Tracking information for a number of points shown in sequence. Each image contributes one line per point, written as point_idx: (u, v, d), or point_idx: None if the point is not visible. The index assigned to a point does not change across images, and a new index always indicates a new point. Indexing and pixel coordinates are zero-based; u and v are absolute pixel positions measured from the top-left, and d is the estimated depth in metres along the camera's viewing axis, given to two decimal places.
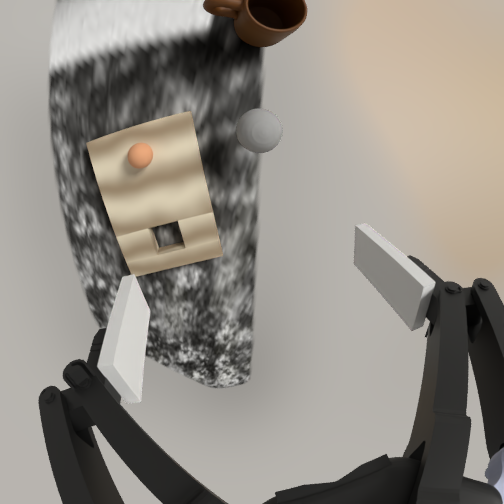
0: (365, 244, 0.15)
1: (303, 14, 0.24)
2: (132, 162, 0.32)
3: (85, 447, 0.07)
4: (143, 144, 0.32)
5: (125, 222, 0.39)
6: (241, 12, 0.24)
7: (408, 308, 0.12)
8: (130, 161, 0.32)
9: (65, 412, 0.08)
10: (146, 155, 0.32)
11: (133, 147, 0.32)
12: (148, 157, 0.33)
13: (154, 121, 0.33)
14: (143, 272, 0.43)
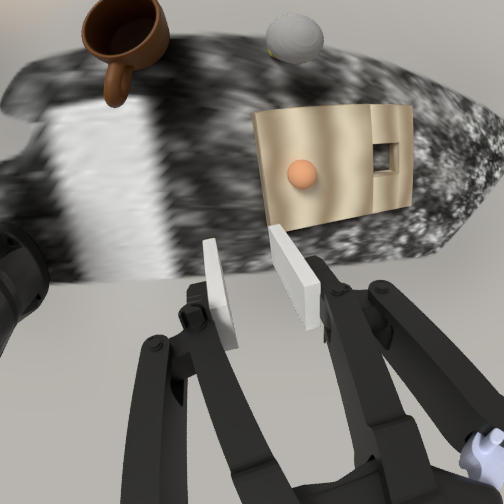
0: (274, 244, 0.17)
1: None
2: (310, 184, 0.31)
3: (174, 405, 0.09)
4: (291, 169, 0.30)
5: (362, 200, 0.36)
6: (128, 60, 0.20)
7: (300, 308, 0.13)
8: (308, 186, 0.31)
9: (168, 366, 0.10)
10: (306, 167, 0.30)
11: (293, 181, 0.31)
12: (308, 165, 0.30)
13: (262, 154, 0.31)
14: (410, 192, 0.37)
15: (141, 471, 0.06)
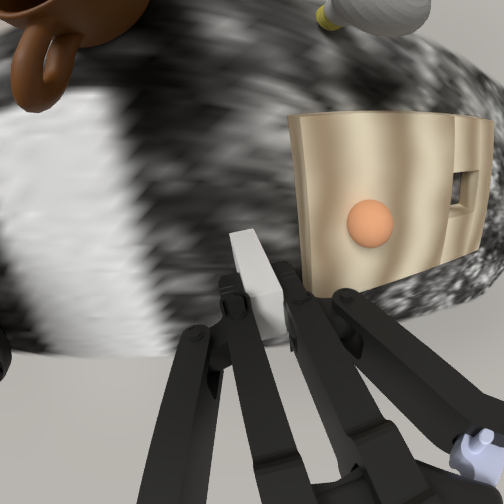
0: None
1: None
2: (384, 242, 0.18)
3: (208, 398, 0.09)
4: (358, 218, 0.18)
5: (431, 249, 0.24)
6: (61, 19, 0.07)
7: None
8: None
9: (207, 357, 0.10)
10: (382, 215, 0.17)
11: (360, 238, 0.18)
12: (384, 212, 0.17)
13: (309, 189, 0.19)
14: (480, 234, 0.25)
15: (166, 462, 0.06)
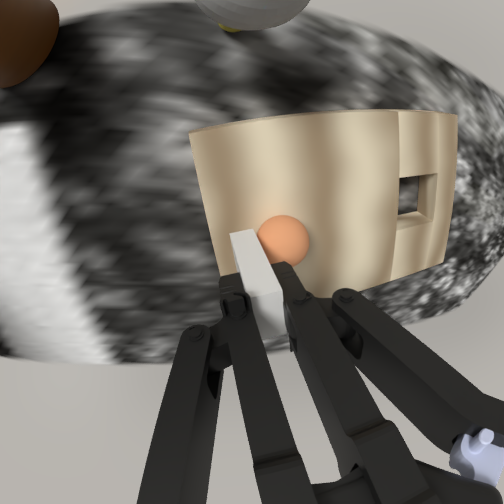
0: None
1: None
2: (299, 262, 0.18)
3: (208, 398, 0.09)
4: (264, 238, 0.17)
5: (376, 265, 0.23)
6: None
7: None
8: (295, 265, 0.18)
9: (207, 357, 0.10)
10: (291, 234, 0.17)
11: (268, 260, 0.17)
12: (294, 229, 0.17)
13: (207, 208, 0.18)
14: (444, 245, 0.24)
15: (166, 462, 0.06)
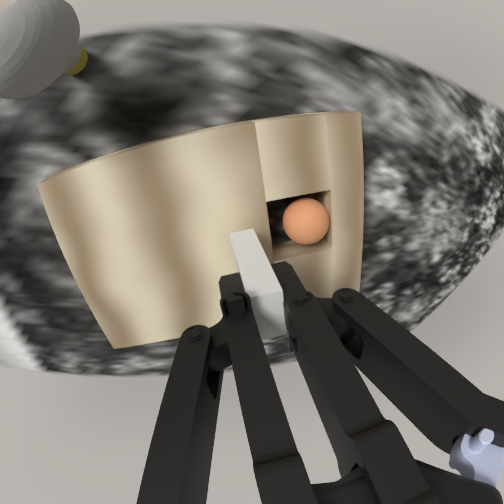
0: None
1: None
2: None
3: (208, 398, 0.09)
4: (324, 207, 0.20)
5: None
6: None
7: None
8: None
9: (207, 357, 0.10)
10: None
11: None
12: None
13: (62, 247, 0.17)
14: (357, 273, 0.23)
15: (166, 462, 0.06)
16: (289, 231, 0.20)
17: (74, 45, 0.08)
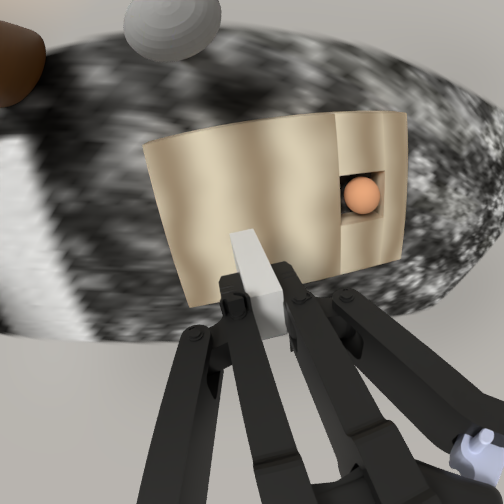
0: None
1: None
2: None
3: (208, 398, 0.09)
4: (377, 186, 0.24)
5: (322, 258, 0.26)
6: None
7: None
8: None
9: (207, 357, 0.10)
10: None
11: None
12: None
13: (159, 205, 0.21)
14: (400, 241, 0.27)
15: (166, 462, 0.06)
16: (349, 200, 0.24)
17: (217, 30, 0.13)
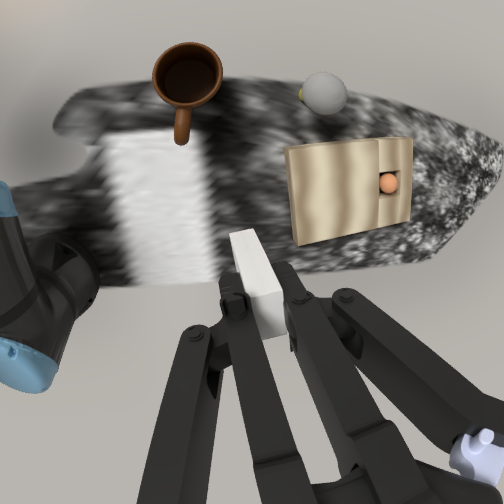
0: None
1: (194, 45, 0.23)
2: None
3: (208, 398, 0.09)
4: None
5: (369, 217, 0.45)
6: (193, 107, 0.28)
7: None
8: None
9: (207, 357, 0.10)
10: None
11: None
12: None
13: (293, 183, 0.40)
14: (409, 210, 0.46)
15: (166, 462, 0.06)
16: (381, 185, 0.43)
17: None
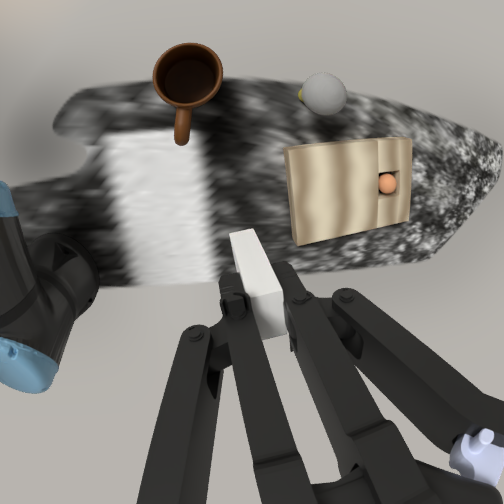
0: None
1: (194, 46, 0.24)
2: None
3: (208, 398, 0.09)
4: None
5: (368, 217, 0.45)
6: (193, 107, 0.28)
7: None
8: None
9: (207, 357, 0.10)
10: None
11: None
12: None
13: (293, 183, 0.40)
14: (408, 210, 0.46)
15: (166, 462, 0.06)
16: (379, 185, 0.43)
17: None
